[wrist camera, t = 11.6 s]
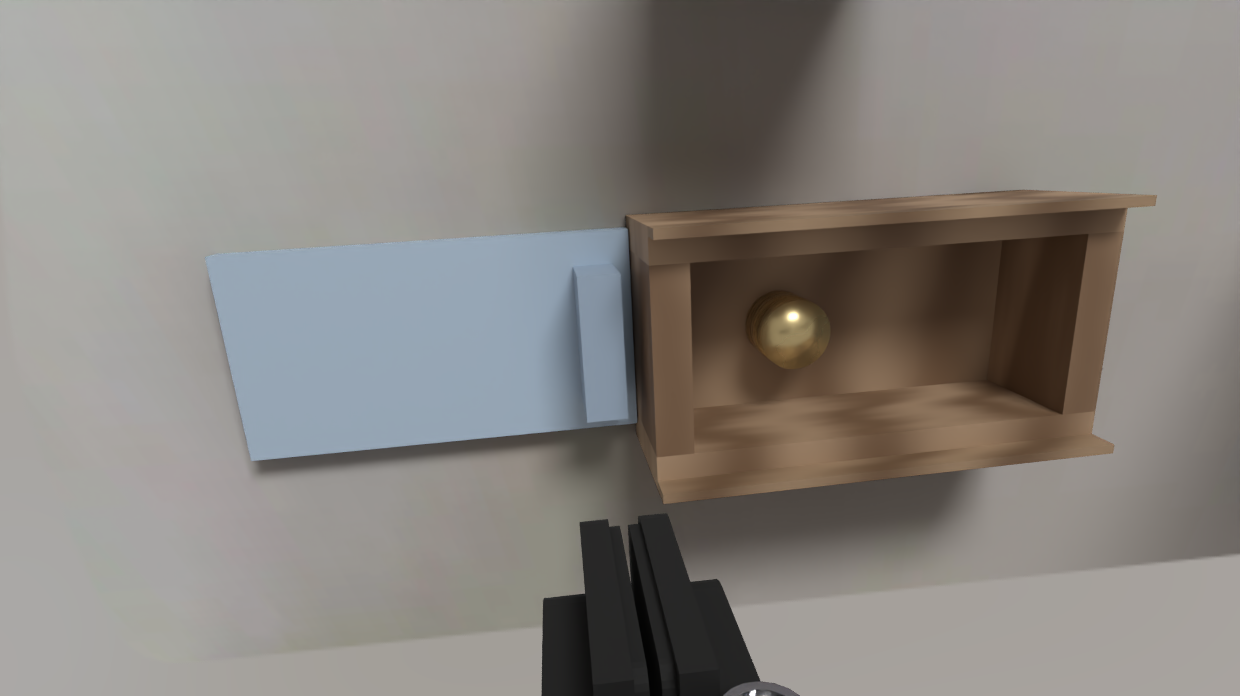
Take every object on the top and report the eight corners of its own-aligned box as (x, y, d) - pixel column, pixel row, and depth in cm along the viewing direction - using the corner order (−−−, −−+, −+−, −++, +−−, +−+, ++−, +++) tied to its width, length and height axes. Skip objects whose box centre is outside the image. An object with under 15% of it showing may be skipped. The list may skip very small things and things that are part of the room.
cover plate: (623, 226, 31) (638, 235, 26) (632, 411, 33) (647, 448, 29) (222, 252, 29) (165, 267, 24) (265, 446, 31) (220, 492, 27)
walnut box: (1023, 189, 32) (1156, 195, 25) (999, 397, 35) (1112, 453, 28) (625, 215, 30) (653, 228, 23) (636, 434, 33) (663, 504, 26)
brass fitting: (809, 287, 31) (831, 297, 29) (807, 351, 32) (829, 365, 29) (744, 293, 31) (762, 302, 28) (745, 357, 31) (761, 372, 29)
